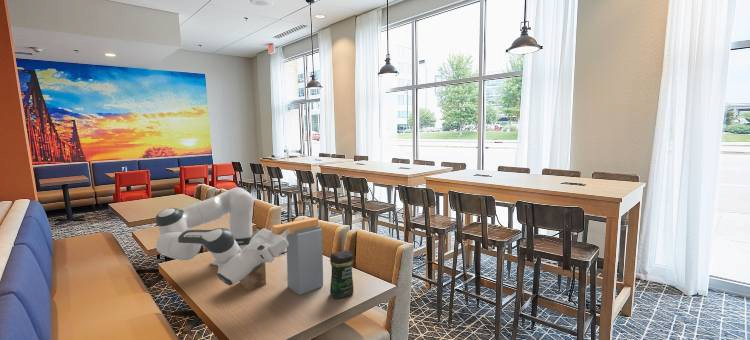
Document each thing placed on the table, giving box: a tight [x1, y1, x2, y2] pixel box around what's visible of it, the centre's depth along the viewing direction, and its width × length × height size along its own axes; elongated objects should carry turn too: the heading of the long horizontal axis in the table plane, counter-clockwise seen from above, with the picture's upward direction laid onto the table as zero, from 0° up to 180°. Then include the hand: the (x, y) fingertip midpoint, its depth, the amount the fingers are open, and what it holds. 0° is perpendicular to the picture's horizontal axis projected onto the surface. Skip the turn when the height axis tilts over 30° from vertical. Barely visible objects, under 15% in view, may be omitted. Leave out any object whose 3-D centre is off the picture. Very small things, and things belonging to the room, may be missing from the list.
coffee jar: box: [329, 249, 355, 299], centre depth 146 cm, size 10×8×19 cm
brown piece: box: [239, 262, 267, 291], centre depth 156 cm, size 8×10×15 cm
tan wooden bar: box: [271, 217, 319, 235], centre depth 148 cm, size 20×4×4 cm, turn 133°
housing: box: [286, 225, 324, 295], centre depth 153 cm, size 12×10×27 cm
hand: (284, 228), depth 145 cm, fingers open, 5 cm apart
